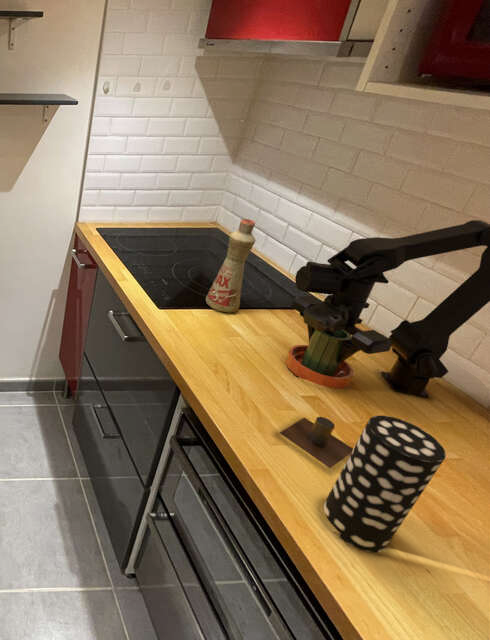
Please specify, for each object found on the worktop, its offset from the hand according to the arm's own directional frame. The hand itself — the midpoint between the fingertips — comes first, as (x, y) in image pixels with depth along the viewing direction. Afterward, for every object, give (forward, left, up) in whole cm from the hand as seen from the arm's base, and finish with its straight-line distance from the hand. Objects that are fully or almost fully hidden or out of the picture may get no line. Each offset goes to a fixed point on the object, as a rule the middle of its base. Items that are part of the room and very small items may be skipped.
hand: (324, 352), depth 104 cm
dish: (0, 0, -6) cm, 6 cm away
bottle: (-25, -16, -6) cm, 30 cm away
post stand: (+25, -8, -6) cm, 27 cm away
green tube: (0, 0, -5) cm, 5 cm away
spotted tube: (+42, -8, -6) cm, 43 cm away
